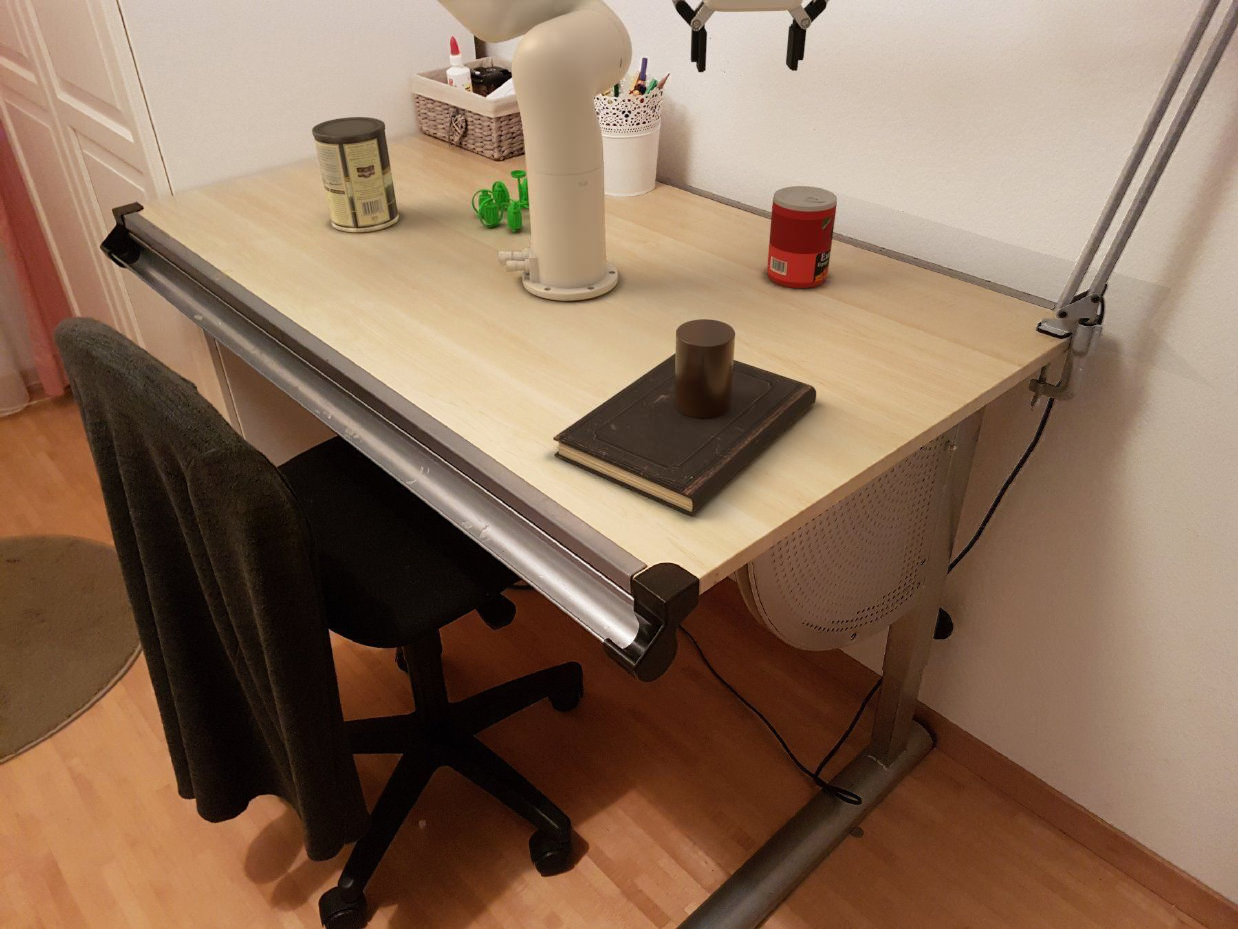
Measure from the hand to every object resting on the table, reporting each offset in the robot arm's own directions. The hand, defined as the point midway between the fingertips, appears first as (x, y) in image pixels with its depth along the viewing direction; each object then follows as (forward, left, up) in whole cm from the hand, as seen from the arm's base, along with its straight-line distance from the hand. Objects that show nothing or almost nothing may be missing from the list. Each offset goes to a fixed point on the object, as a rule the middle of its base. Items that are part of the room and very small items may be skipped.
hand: (746, 68), depth 97 cm
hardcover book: (-7, -26, -28) cm, 40 cm away
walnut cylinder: (-6, -25, -26) cm, 37 cm away
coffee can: (-52, +34, -28) cm, 68 cm away
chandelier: (-28, +34, -28) cm, 52 cm away
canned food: (+10, +10, -28) cm, 32 cm away
